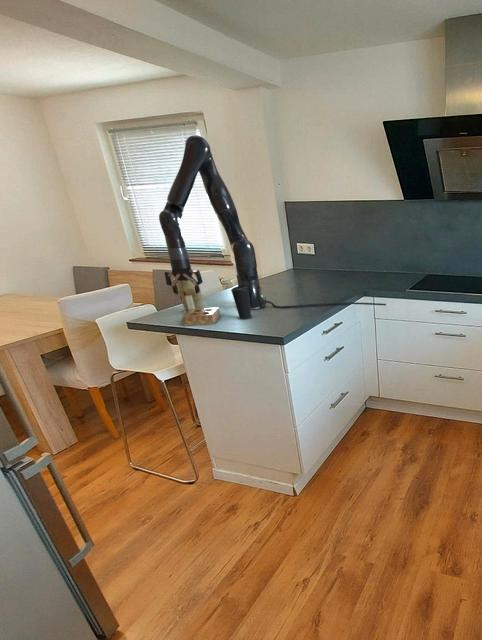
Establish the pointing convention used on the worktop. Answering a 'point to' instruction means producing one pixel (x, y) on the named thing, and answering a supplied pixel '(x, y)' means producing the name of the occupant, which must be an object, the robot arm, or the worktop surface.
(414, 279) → the worktop surface
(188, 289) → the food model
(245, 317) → the drinking cup
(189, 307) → the peg
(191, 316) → the peg block
